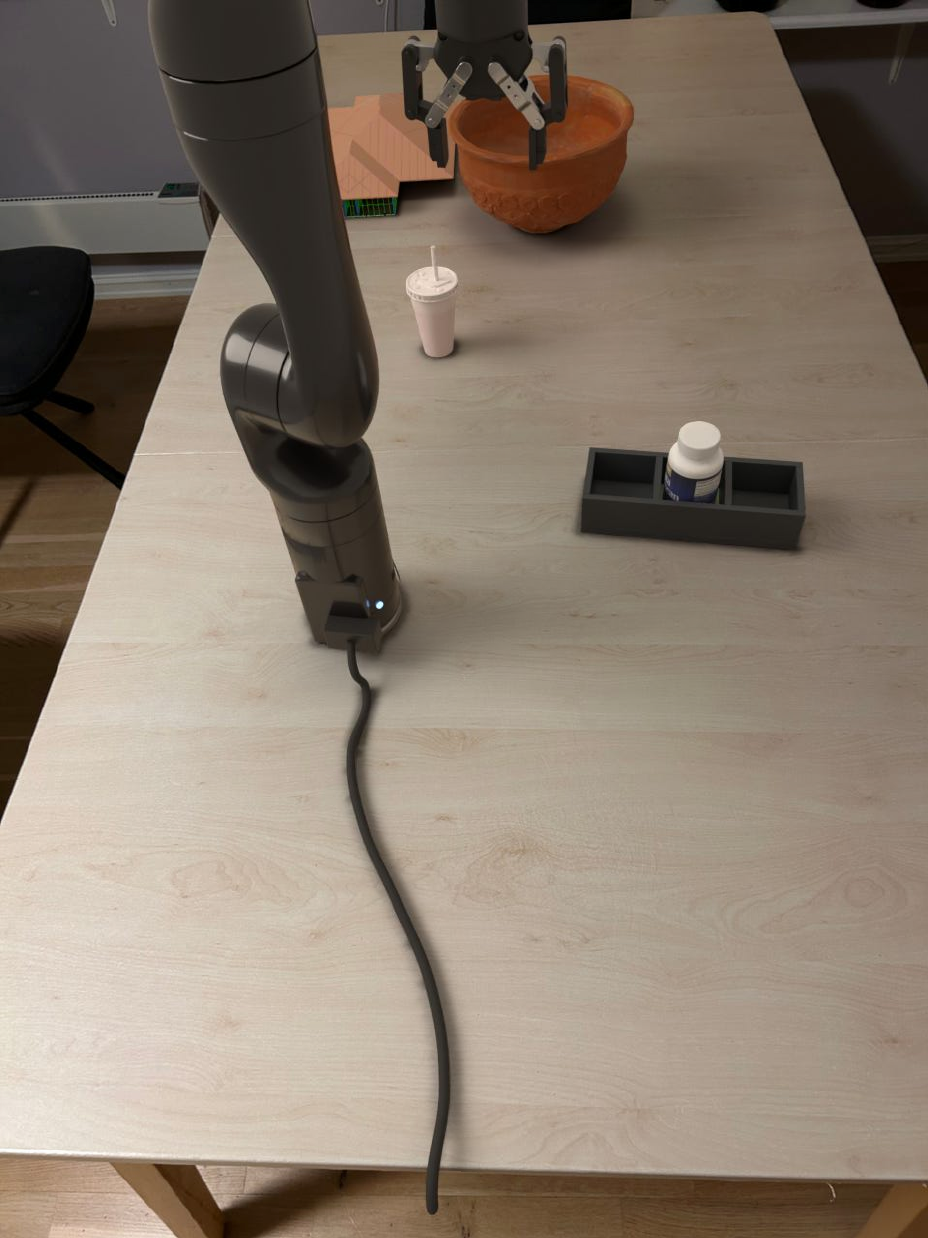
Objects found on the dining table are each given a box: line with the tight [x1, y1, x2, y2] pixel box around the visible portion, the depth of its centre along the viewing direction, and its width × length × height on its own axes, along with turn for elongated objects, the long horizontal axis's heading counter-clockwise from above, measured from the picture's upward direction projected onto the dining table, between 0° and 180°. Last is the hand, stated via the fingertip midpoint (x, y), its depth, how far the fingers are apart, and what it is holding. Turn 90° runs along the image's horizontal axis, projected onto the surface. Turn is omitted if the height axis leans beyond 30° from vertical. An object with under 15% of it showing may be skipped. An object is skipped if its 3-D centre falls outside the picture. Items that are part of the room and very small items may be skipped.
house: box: [328, 92, 459, 218], centre depth 147 cm, size 23×33×8 cm
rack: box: [580, 446, 807, 551], centre depth 97 cm, size 8×22×5 cm, turn 80°
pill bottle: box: [662, 420, 725, 504], centre depth 94 cm, size 5×5×10 cm
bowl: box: [448, 74, 635, 234], centre depth 131 cm, size 25×25×15 cm
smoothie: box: [405, 245, 460, 358], centre depth 114 cm, size 6×6×14 cm
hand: (488, 165), depth 86 cm, fingers open, 8 cm apart
